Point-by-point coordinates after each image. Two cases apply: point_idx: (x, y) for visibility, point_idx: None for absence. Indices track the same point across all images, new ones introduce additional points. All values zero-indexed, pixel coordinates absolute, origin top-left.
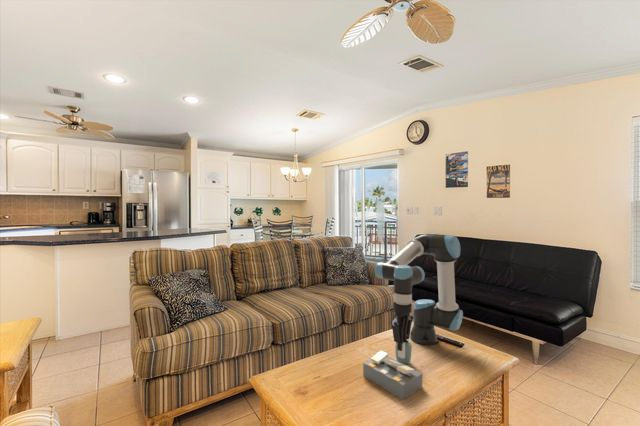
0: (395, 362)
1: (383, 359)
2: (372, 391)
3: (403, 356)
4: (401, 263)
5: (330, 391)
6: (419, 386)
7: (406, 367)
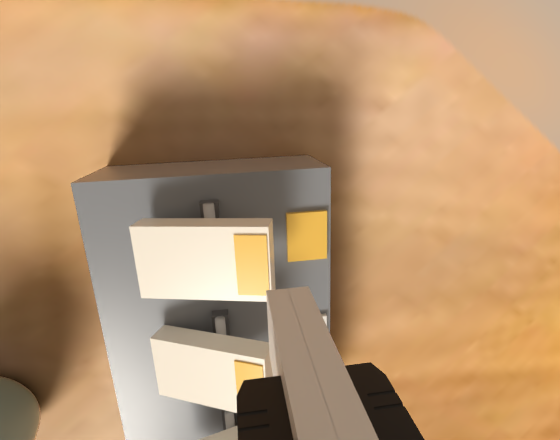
0: (204, 361)
1: (229, 431)
2: (375, 285)
3: (302, 300)
4: None
5: (508, 370)
6: (134, 166)
7: (183, 270)
